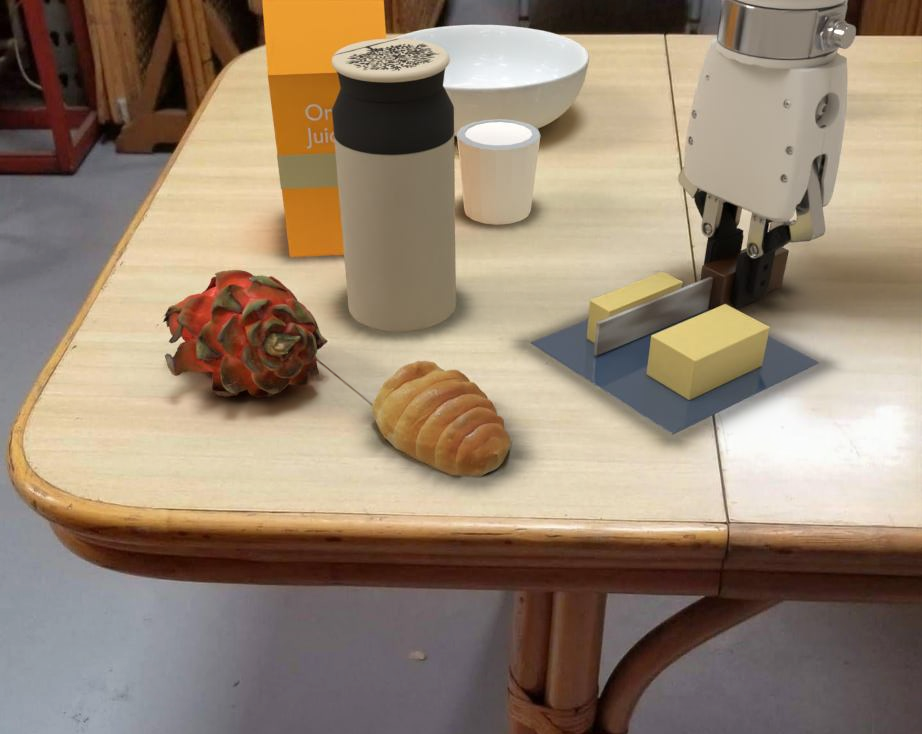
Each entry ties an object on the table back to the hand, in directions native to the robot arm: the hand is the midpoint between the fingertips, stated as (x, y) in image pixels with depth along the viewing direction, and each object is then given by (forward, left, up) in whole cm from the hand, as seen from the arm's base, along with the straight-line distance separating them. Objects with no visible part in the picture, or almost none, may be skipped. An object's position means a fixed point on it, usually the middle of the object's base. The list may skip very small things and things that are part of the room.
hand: (732, 291), depth 79 cm
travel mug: (+20, -14, -1) cm, 25 cm away
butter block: (+9, +6, -1) cm, 11 cm away
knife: (+5, 0, -1) cm, 5 cm away
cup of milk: (+4, -23, -1) cm, 24 cm away
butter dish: (+9, +3, -1) cm, 9 cm away
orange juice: (+17, -27, -1) cm, 32 cm away
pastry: (+27, +1, -1) cm, 27 cm away
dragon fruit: (+34, -12, -1) cm, 36 cm away
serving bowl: (-8, -41, -1) cm, 42 cm away
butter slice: (+9, -1, -1) cm, 9 cm away
